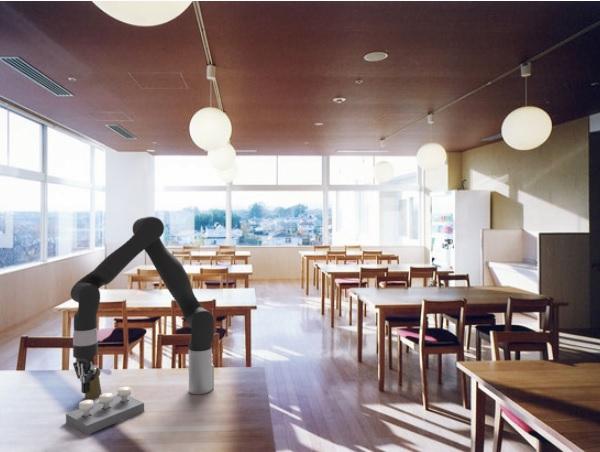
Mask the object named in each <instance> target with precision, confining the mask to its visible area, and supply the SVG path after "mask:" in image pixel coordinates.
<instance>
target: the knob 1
mask: <svg viewBox="0 0 600 452" xmlns="http://www.w3.org/2000/svg"><path fill="white" fill-rule="evenodd" d="M93 407H94V399H92V400H88V399H85V400H82V401H80V402H79V403H78V409H79V410H80V411H83V418H86V417H89V416H90V410H91V409H93Z"/></svg>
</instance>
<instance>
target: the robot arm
mask: <svg viewBox="0 0 600 452" xmlns="http://www.w3.org/2000/svg"><path fill="white" fill-rule="evenodd" d="M164 230H165V225H164V223H163V221H162V220H161V218H159V217H157V216H145V217H141V218H138V219H137V220H136V221H134V222H133V225H132V233H133V235H132V236H131V237H130V238H129V239H128V240H127V241H125V243H123V244H122V245H121V246H119V247H118V248H117V249H115V250H114V251H113V252H111V253H110V254H108V255H107V256H106V257H105V258H104V259H103V260H102V261H101V262H100V263H99V264H98V265H97V266H96V267H95V268H94V270H92V271H91V272H89V273H87V274H86V275H84V276H83V277H82V278H80V279H79V280H78V281H77V282H76V283H74V285H73V286H72V288H71V290H70V298H71V299H72V300H73V301H74V302H76V303H78V309H77V311H76V312H75V313H74V315H73V333H72V357H73V358H74V359H76V361H74V362H72V363H73V364H72V365H73V369H74V371H75V374H76V377H77V379H78V380H79V381H80V383H81V384H80V385H81V393H83V394H84V395H85V393H89V392H90V381H93V380H94V379H95V377H96V375H97V373H98V371H99V369H100V368H99V367H95V364H96V363H95V357H96V356H97V355H98V353H99V341H98V340H99V338H98V336H99V334H98V318H97V317H98V315H97V314H98V313H99V312H98V311H99V307H100V302H101V291H100V288H102V286H107V285H109V284H110V283H112V282H113V280H115V278H116V277H117V276H119V274H120V273H122V271H123V270H124V269H125V268H126V267H127V266H128V265H129V264H130V263H131V262H132V261H133V260H134V259H135V258H136V257H137V256H138V255H139V254H141V252H143V251H145V253H146V254H147V256H148V257H149V259H150V261H151V263H152V264H153V266H154V268H155V270H156V272H157V273H158V275H159V277H160V279H161V281H162V282H163V284H164V285H165V288H167V290H168V292H169V293H170V295H171V296H172V298H173V299H174V300H175V301H176V303H177V304H178V306H179V308H180V311H181V313H182V315H183V317H184V320H185V322H186V324H187V327H189V328H190V329H191V332H190V333H191V337H190V340H189V341H188V392H189V394H193V395H204V394H208V393H210V392H211V391H212V390H213V389H214V388H215V365H214V364H213V342H214V339H215V337H214V335H215V334H214V333H215V332H214V331H215V318H214V315H213V314H212V313H211V311H209V310H207V309H205V308H204V307H203V306H202V305H201V303H200V302H199V301H198V299H197V297H196V296H195V294H194V291H193V287H192V284H191V280H190V278H189V275H188V273H187V271H186V269H185V268H184V265H182V263H181V262H180V260H178V258H177V257H176V256H175V255H173V253H172V252H170V251H169V250H168V249H167V247H166V246H165V245H164V243H163V241H162V239H161V237H162V235H163V234H164ZM98 368H99V369H98Z"/></svg>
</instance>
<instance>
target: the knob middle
mask: <svg viewBox="0 0 600 452" xmlns="http://www.w3.org/2000/svg"><path fill="white" fill-rule="evenodd" d="M113 396H114V394H113V393H111V392H105V393H102V394H101V395H100V396H99V398H98V402H99V403H100V404H103V410H107V409H109V403H110V402H112V401H113Z"/></svg>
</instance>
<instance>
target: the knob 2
mask: <svg viewBox="0 0 600 452" xmlns="http://www.w3.org/2000/svg"><path fill="white" fill-rule="evenodd" d="M131 394H132V389H131V387H130V386H122V387H119V388H117V395H118V396H119V397H121V403H125V402H127V396H130V395H131Z"/></svg>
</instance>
